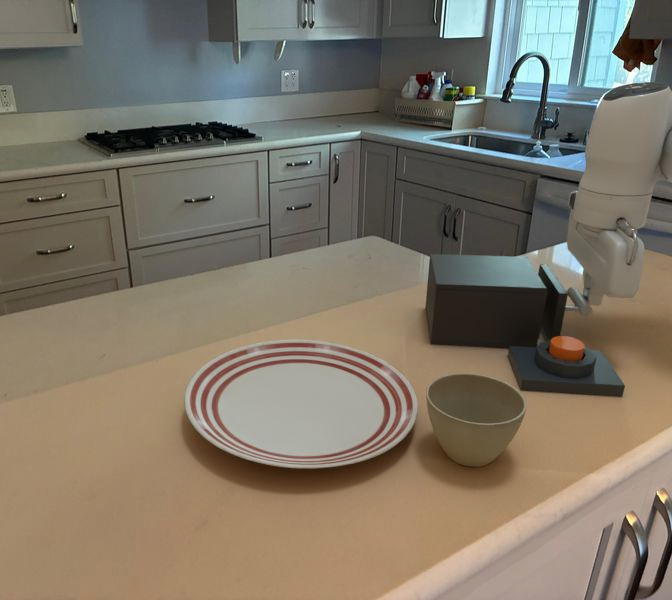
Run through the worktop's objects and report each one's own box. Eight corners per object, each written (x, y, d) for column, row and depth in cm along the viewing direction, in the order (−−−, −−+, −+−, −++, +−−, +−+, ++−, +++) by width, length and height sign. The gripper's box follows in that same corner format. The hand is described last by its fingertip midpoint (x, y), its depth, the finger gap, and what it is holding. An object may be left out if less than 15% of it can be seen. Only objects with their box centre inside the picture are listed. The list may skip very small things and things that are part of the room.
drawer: (569, 311, 96) (577, 265, 93) (591, 346, 86) (602, 295, 83) (452, 306, 99) (456, 261, 96) (460, 339, 89) (465, 289, 86)
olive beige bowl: (525, 440, 68) (534, 385, 66) (506, 495, 61) (516, 435, 58) (436, 416, 73) (441, 363, 70) (408, 463, 65) (413, 407, 62)
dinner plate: (375, 349, 89) (376, 328, 87) (456, 473, 64) (459, 447, 62) (183, 367, 85) (181, 346, 84) (190, 506, 60) (187, 479, 59)
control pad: (599, 361, 84) (604, 338, 83) (622, 397, 76) (628, 372, 74) (507, 356, 86) (510, 334, 84) (520, 390, 78) (524, 366, 76)
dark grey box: (518, 313, 99) (527, 256, 95) (536, 350, 87) (546, 288, 83) (425, 308, 101) (430, 253, 97) (430, 344, 89) (436, 283, 86)
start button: (577, 348, 81) (579, 336, 80) (586, 363, 77) (588, 351, 77) (545, 346, 82) (547, 335, 81) (552, 361, 78) (555, 349, 77)
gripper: (667, 232, 74) (641, 335, 80) (610, 191, 92) (593, 277, 98) (611, 231, 75) (589, 332, 81) (566, 190, 93) (551, 275, 99)
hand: (591, 301), depth 89 cm, fingers closed, pressing on drawer
